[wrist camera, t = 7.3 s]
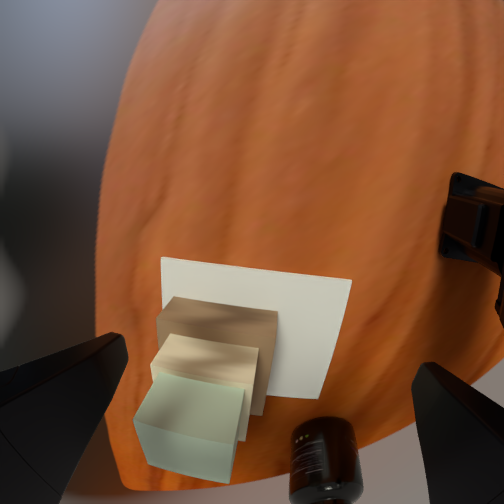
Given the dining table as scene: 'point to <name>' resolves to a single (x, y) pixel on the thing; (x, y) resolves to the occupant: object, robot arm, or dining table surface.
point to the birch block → (210, 366)
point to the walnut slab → (225, 333)
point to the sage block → (190, 426)
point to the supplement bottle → (324, 463)
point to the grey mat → (276, 299)
